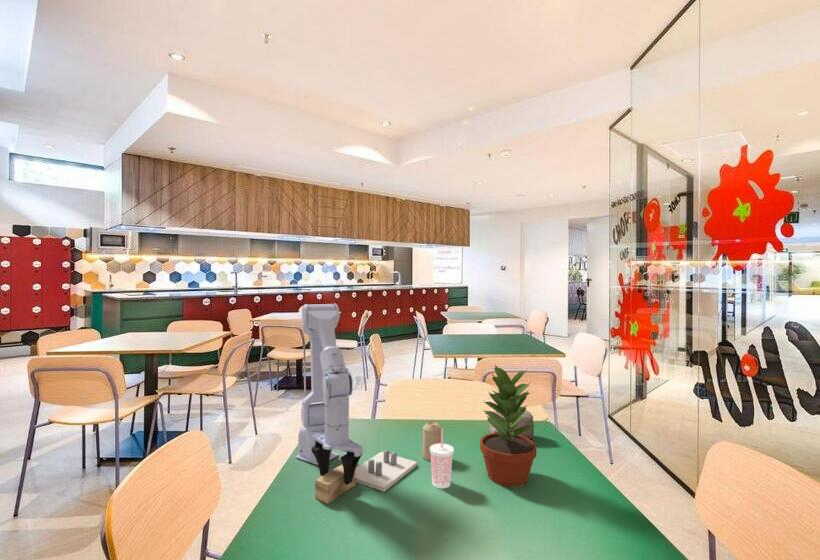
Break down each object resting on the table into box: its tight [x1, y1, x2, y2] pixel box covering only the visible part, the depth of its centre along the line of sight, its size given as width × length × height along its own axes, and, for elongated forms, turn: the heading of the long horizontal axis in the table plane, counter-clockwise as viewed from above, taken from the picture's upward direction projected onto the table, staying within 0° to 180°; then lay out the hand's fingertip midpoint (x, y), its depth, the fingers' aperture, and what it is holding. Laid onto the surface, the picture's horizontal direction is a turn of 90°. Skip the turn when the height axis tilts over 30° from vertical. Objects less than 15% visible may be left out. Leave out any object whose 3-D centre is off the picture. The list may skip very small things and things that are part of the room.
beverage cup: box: [430, 427, 455, 489], centre depth 102 cm, size 6×6×14 cm
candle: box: [422, 420, 443, 462], centre depth 116 cm, size 6×6×10 cm
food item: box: [488, 410, 535, 440], centre depth 132 cm, size 14×8×10 cm, turn 93°
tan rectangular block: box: [314, 464, 357, 504], centre depth 97 cm, size 10×4×4 cm, turn 149°
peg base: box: [356, 449, 418, 492], centre depth 107 cm, size 12×16×4 cm
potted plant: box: [479, 364, 537, 488], centre depth 106 cm, size 15×15×30 cm
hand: (336, 478), depth 97 cm, fingers open, 7 cm apart
